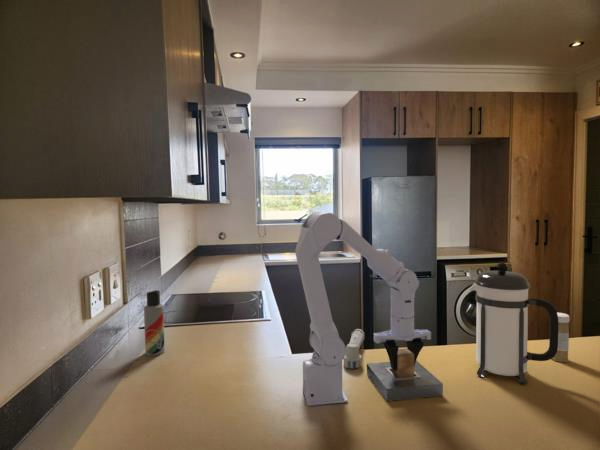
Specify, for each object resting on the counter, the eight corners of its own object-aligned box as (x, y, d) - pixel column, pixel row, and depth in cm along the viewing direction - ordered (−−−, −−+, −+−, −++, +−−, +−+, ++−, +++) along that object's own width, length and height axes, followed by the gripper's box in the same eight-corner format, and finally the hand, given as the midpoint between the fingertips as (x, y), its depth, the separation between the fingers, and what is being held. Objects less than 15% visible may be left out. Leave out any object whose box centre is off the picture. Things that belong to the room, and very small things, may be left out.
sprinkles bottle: (546, 355, 109) (547, 311, 108) (563, 357, 108) (564, 312, 107) (554, 362, 104) (554, 316, 104) (572, 363, 103) (572, 316, 103)
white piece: (366, 328, 125) (360, 344, 101) (366, 348, 125) (360, 369, 100) (351, 327, 126) (341, 343, 102) (351, 347, 126) (341, 367, 102)
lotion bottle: (153, 357, 112) (151, 293, 111) (141, 354, 115) (139, 291, 114) (168, 351, 117) (166, 289, 116) (156, 347, 120) (154, 287, 119)
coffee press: (501, 391, 88) (502, 269, 87) (458, 364, 104) (459, 260, 103) (559, 382, 92) (561, 265, 91) (509, 357, 108) (510, 257, 107)
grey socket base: (386, 401, 85) (386, 388, 85) (366, 374, 99) (366, 362, 98) (442, 395, 87) (442, 382, 87) (415, 370, 101) (415, 358, 100)
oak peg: (398, 383, 90) (398, 355, 90) (392, 376, 94) (392, 349, 94) (414, 382, 91) (414, 354, 90) (407, 374, 95) (407, 348, 94)
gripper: (380, 322, 87) (380, 377, 87) (437, 318, 89) (437, 372, 90) (370, 313, 94) (370, 365, 94) (423, 310, 96) (423, 361, 97)
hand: (402, 368), depth 92 cm, fingers closed on oak peg, 4 cm apart
